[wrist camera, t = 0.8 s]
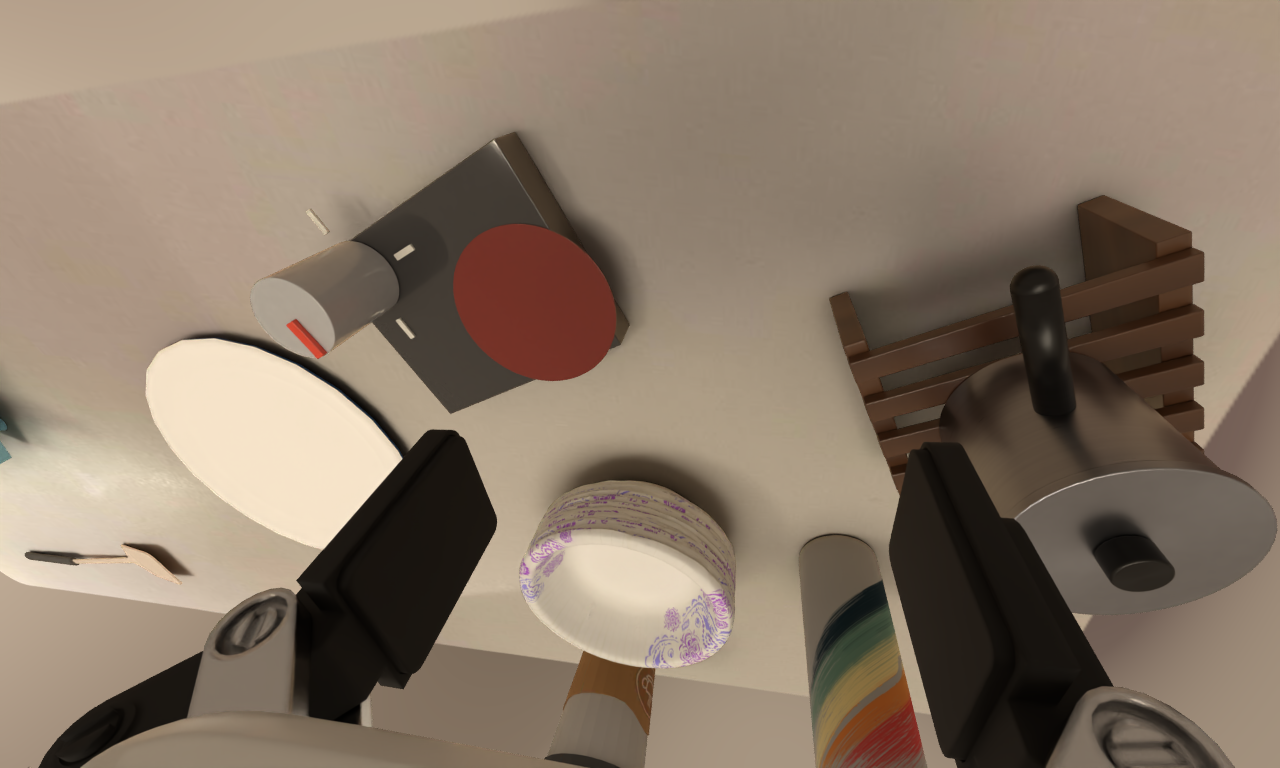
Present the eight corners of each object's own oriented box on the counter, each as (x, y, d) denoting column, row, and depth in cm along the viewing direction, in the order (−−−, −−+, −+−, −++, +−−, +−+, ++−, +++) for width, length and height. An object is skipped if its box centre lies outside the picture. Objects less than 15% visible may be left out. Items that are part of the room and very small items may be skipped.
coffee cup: (678, 648, 50) (653, 842, 37) (604, 646, 52) (558, 827, 40) (653, 598, 46) (616, 797, 33) (574, 599, 48) (513, 784, 36)
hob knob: (314, 260, 29) (227, 301, 24) (360, 227, 27) (276, 265, 22) (367, 322, 30) (296, 371, 26) (414, 295, 29) (347, 343, 24)
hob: (299, 230, 31) (265, 244, 29) (488, 84, 24) (461, 88, 22) (446, 402, 37) (426, 424, 34) (630, 325, 30) (620, 346, 28)
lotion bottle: (871, 583, 39) (955, 968, 22) (796, 577, 40) (824, 936, 24) (881, 535, 36) (986, 941, 19) (799, 530, 37) (834, 906, 21)
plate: (204, 501, 52) (193, 510, 51) (109, 290, 37) (91, 297, 36) (428, 574, 51) (422, 585, 50) (422, 390, 36) (413, 400, 35)
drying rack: (828, 297, 27) (844, 353, 22) (1104, 194, 22) (1205, 236, 17) (887, 455, 32) (911, 529, 27) (1123, 400, 27) (1205, 478, 22)
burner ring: (420, 269, 28) (419, 270, 28) (553, 189, 24) (552, 190, 24) (519, 398, 32) (518, 399, 32) (647, 348, 28) (647, 349, 28)
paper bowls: (547, 435, 36) (503, 518, 30) (753, 470, 34) (753, 567, 28) (557, 560, 45) (525, 645, 39) (722, 594, 43) (716, 689, 37)
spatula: (194, 575, 63) (183, 586, 61) (49, 567, 71) (37, 576, 69) (160, 544, 59) (148, 554, 58) (12, 539, 67) (-1, 548, 66)
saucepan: (951, 489, 25) (1023, 650, 18) (883, 273, 19) (949, 388, 13) (1133, 453, 22) (1298, 631, 15) (1110, 187, 16) (1349, 280, 10)
